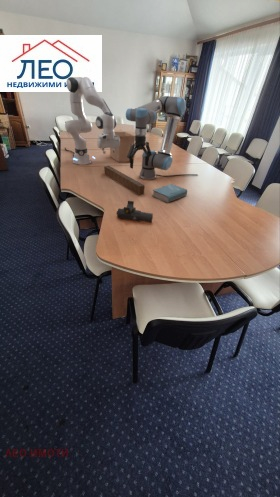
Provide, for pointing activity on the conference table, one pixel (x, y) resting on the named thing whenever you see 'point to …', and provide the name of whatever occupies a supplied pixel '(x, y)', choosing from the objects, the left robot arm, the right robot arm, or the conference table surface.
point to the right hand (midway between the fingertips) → (139, 166)
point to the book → (169, 193)
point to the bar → (124, 180)
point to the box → (123, 145)
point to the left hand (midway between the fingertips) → (109, 152)
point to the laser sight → (133, 213)
